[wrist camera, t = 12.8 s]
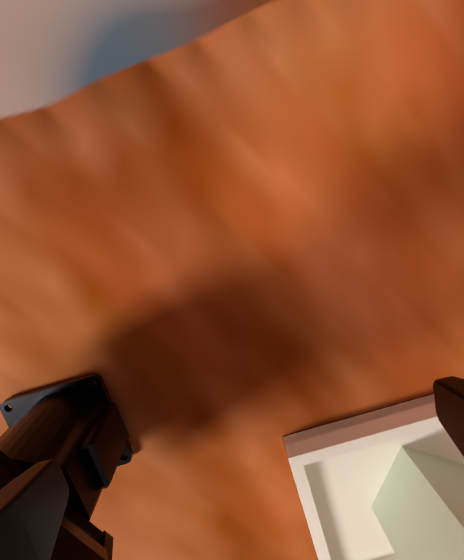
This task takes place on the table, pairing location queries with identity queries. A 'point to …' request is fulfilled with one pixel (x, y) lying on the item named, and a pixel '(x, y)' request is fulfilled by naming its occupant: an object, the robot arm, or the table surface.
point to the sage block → (423, 507)
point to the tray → (359, 473)
